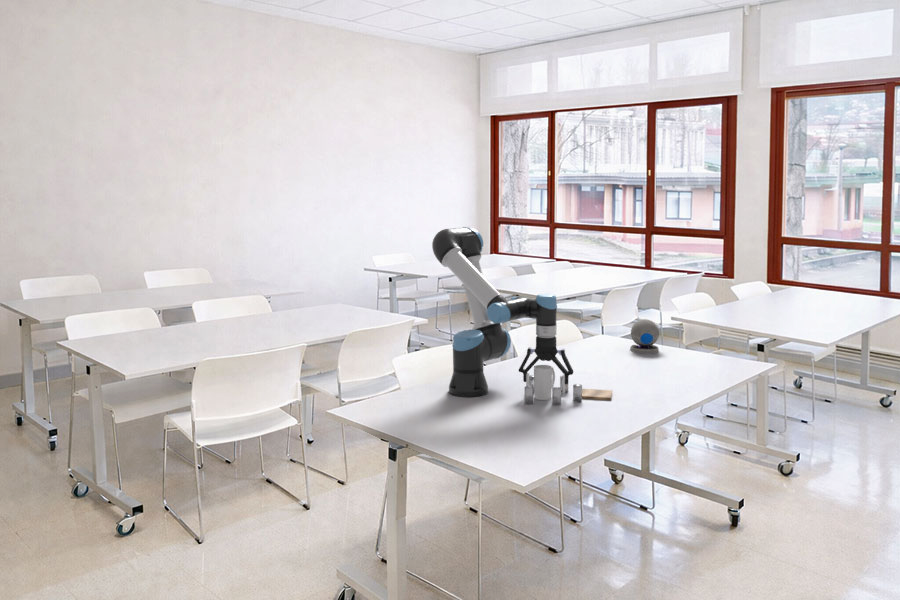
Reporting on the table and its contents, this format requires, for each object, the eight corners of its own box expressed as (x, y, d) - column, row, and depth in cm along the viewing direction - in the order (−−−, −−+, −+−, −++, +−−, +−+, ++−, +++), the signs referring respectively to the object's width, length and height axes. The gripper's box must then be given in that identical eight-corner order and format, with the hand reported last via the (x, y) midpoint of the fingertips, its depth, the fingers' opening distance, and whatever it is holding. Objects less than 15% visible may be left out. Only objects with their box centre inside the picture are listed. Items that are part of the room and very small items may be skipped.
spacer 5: (572, 401, 275) (572, 385, 274) (573, 399, 278) (573, 383, 277) (581, 402, 274) (581, 386, 273) (582, 399, 277) (582, 384, 276)
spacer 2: (527, 392, 288) (527, 377, 287) (528, 389, 291) (528, 374, 290) (535, 392, 287) (536, 377, 286) (537, 390, 290) (537, 375, 289)
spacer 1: (523, 404, 272) (523, 388, 271) (525, 401, 275) (525, 386, 274) (532, 404, 271) (532, 388, 270) (533, 402, 274) (533, 386, 273)
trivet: (578, 398, 279) (578, 395, 278) (580, 391, 288) (580, 388, 288) (610, 400, 276) (610, 397, 275) (612, 392, 285) (612, 390, 285)
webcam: (655, 347, 360) (656, 317, 358) (660, 353, 348) (661, 322, 346) (628, 347, 362) (629, 317, 359) (632, 353, 349) (633, 322, 347)
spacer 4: (559, 392, 287) (559, 377, 286) (560, 390, 290) (560, 375, 289) (567, 393, 286) (568, 377, 285) (568, 390, 289) (568, 375, 288)
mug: (543, 401, 275) (543, 370, 273) (529, 398, 280) (530, 366, 278) (561, 396, 281) (561, 365, 279) (547, 392, 286) (548, 362, 284)
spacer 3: (551, 405, 271) (551, 389, 270) (552, 402, 274) (552, 386, 273) (560, 405, 270) (560, 389, 269) (561, 403, 273) (561, 387, 272)
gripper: (511, 336, 276) (511, 392, 280) (579, 339, 270) (578, 396, 273) (514, 332, 283) (514, 386, 287) (581, 335, 277) (580, 390, 281)
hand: (545, 391), depth 280 cm, fingers open, 13 cm apart
